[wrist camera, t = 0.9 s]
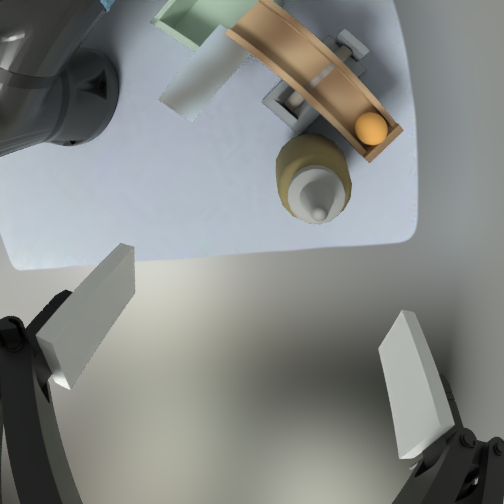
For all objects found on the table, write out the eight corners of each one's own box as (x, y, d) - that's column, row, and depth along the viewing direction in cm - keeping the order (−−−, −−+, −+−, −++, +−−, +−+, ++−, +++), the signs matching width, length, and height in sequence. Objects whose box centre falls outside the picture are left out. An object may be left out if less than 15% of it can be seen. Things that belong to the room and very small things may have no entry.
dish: (167, 30, 30) (150, 22, 26) (225, -31, 25) (215, -47, 21) (221, 67, 32) (209, 62, 27) (283, 4, 27) (281, -10, 22)
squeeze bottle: (321, 118, 33) (342, 131, 17) (354, 175, 36) (394, 235, 20) (264, 151, 36) (236, 193, 20) (299, 205, 38) (297, 282, 23)
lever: (166, 94, 27) (152, 102, 23) (263, -12, 21) (269, -26, 16) (299, 195, 35) (309, 219, 31) (389, 107, 29) (414, 119, 24)
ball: (344, 125, 27) (353, 130, 24) (366, 104, 25) (377, 107, 23) (365, 147, 28) (375, 155, 25) (386, 127, 26) (399, 133, 24)
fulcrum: (261, 102, 33) (248, 99, 25) (328, 36, 28) (337, 13, 20) (299, 135, 34) (298, 143, 26) (365, 70, 29) (386, 58, 21)
